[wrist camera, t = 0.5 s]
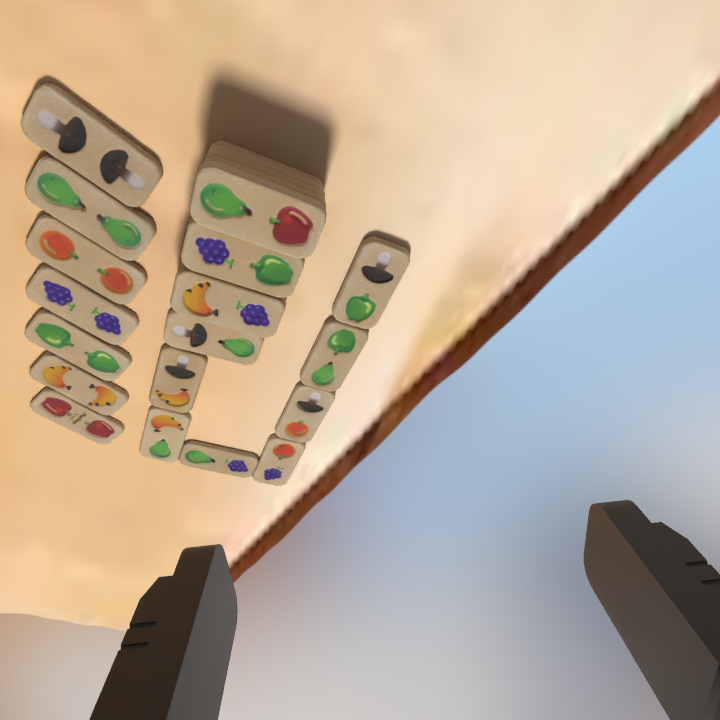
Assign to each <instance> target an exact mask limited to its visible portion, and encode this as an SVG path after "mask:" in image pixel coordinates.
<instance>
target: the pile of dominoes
mask: <svg viewBox="0 0 720 720" xmlns="http://www.w3.org/2000/svg"><path fill="white" fill-rule="evenodd" d="M21 127H22V130H23V132H24V134H25V135H26V136H27V137H28V138H29V139H30V140H31V141H32V142H34V143H35V144H37V145H38V146H39V147H41V148H42V149H44V150H45V151H47V152H48V153H50V154H47V155H44V156H43V157H42V158H40V159H39V161H38V162H37V164H36V166H35V168H34V169H33V171H32V173H31V175H30V177H29V179H28V181H27V183H26V185H25V194H26V196H27V197H28V199H29V200H30V201H31V202H32V203H33V204H34V205H36V206H37V207H39V208H41V209H42V210H44V211H46V212H47V213H45V214H42V215H41V216H40V217H39V219H38V220H37V222H36V223H35V225H34V227H33V229H32V231H31V232H30V234H29V236H28V238H27V240H26V242H25V244H26V247H27V249H28V251H29V252H30V253H31V254H32V255H33V256H35V257H36V258H38V259H40V260H41V261H43V262H45V263H47V264H44V265H42V266H41V267H40V268H39V269H38V271H37V272H36V274H35V275H34V276H33V278H32V279H31V281H30V282H29V283H28V285H27V286H26V294H27V296H28V298H30V299H31V300H32V301H33V302H35V303H37V304H39V305H41V306H42V307H44V308H46V309H42V310H40V311H39V312H38V313H37V314H36V316H35V317H34V318H33V320H32V321H31V322H30V324H29V325H28V326H27V328H26V329H25V336H26V337H27V339H28V340H29V341H31V342H32V343H34V344H36V345H38V346H40V347H42V348H44V349H46V350H48V351H49V352H46V353H44V354H43V355H42V356H41V357H40V358H39V359H38V360H37V362H36V363H35V364H34V365H33V366H32V367H31V368H30V371H29V374H30V376H31V377H32V378H33V379H34V380H36V381H38V382H40V383H42V384H44V385H46V386H48V388H45V389H43V390H42V391H41V392H40V393H39V394H38V395H37V396H36V397H35V398H34V399H33V400H32V401H31V403H30V407H31V409H32V410H33V411H34V412H35V413H37V414H39V415H41V416H43V417H45V418H47V419H49V420H51V421H53V422H55V423H57V424H59V425H61V426H63V427H65V428H67V429H69V430H72V431H74V432H76V433H78V434H80V435H82V436H84V437H86V438H88V439H90V440H92V441H94V442H96V443H98V444H109V443H110V442H111V441H113V440H114V439H115V438H116V437H118V436H119V435H120V434H121V433H122V432H123V431H124V425H123V424H122V423H121V422H120V421H118V420H116V419H114V418H112V417H110V416H108V415H111V414H114V413H115V412H116V411H117V410H118V409H119V408H121V407H122V406H123V405H124V404H125V403H126V402H127V401H128V399H129V394H128V393H127V391H125V390H124V389H122V388H120V387H118V386H117V385H115V384H113V383H111V382H110V381H113V380H115V379H117V378H118V377H119V376H120V375H121V374H122V373H123V372H124V371H125V370H126V369H127V368H128V367H129V365H130V364H131V362H132V357H131V356H130V354H129V353H127V352H126V351H124V350H123V349H121V348H119V347H117V346H116V345H119V344H122V343H123V342H124V341H125V340H126V339H127V338H128V337H129V336H130V335H131V333H132V332H133V331H134V330H135V329H136V327H137V326H138V324H139V318H138V316H137V315H136V314H135V313H134V312H132V311H131V310H129V309H127V308H126V307H124V306H123V305H121V304H128V303H130V302H132V300H133V299H134V298H135V296H136V295H137V294H138V293H139V291H140V290H141V289H142V287H143V286H144V285H145V283H146V281H147V279H148V276H147V273H146V271H145V270H144V269H143V268H142V267H140V266H139V265H137V264H136V263H134V262H132V261H133V260H136V259H138V258H139V256H140V255H141V254H142V252H143V251H144V250H145V248H146V247H147V246H148V244H149V243H150V242H151V240H152V239H153V237H154V236H155V234H156V231H157V228H156V225H155V223H154V222H153V220H152V219H151V218H149V217H148V216H147V215H145V214H144V213H142V212H141V211H139V210H138V209H136V207H139V206H142V205H143V204H144V203H145V201H146V200H147V198H148V197H149V196H150V194H151V193H152V191H153V190H154V188H155V187H156V185H157V184H158V182H159V181H160V179H161V177H162V176H163V168H162V165H161V164H160V162H159V161H158V160H157V159H156V158H155V157H154V156H152V155H151V154H150V153H148V152H147V151H145V150H144V149H143V148H141V147H140V146H139V145H137V144H136V143H135V142H133V141H132V140H131V139H129V138H128V137H127V136H125V135H124V134H123V133H121V132H120V131H119V130H117V129H116V128H115V127H113V126H112V125H110V124H109V123H108V122H106V121H105V120H104V119H102V118H101V117H100V116H98V115H97V114H96V113H94V112H93V111H92V110H90V109H89V108H88V107H86V106H85V105H84V104H82V103H81V102H80V101H78V100H77V99H76V98H74V97H73V96H72V95H70V94H69V93H68V92H66V91H65V90H64V89H62V88H61V87H59V86H57V85H56V84H52V83H44V84H42V85H40V86H39V87H38V88H37V89H36V90H35V91H34V93H33V96H32V98H31V100H30V102H29V104H28V106H27V108H26V110H25V112H24V114H23V116H22V119H21ZM189 212H190V219H189V223H188V226H187V230H186V235H185V239H184V243H183V248H182V253H181V262H180V265H179V268H178V271H177V274H176V277H175V282H174V286H173V290H172V295H171V299H170V304H171V307H172V308H173V309H172V310H170V311H169V313H168V316H167V320H166V326H165V331H164V340H165V342H166V343H167V344H166V345H164V346H163V347H162V348H161V351H160V355H159V359H158V363H157V367H156V371H155V375H154V380H153V384H152V388H151V392H150V396H149V401H150V403H151V404H152V405H153V406H151V407H150V408H149V411H148V415H147V419H146V424H145V428H144V432H143V436H142V440H141V444H140V448H139V452H140V453H141V454H142V455H143V456H145V457H148V458H152V459H156V460H161V461H165V462H174V461H176V460H178V459H179V461H180V463H181V464H183V465H186V466H189V467H194V468H199V469H203V470H208V471H214V472H218V473H222V474H227V475H232V476H237V477H241V478H246V477H250V476H251V475H252V477H253V479H254V480H255V481H257V482H259V483H265V484H270V485H275V486H282V485H284V484H286V483H287V481H288V479H289V477H290V476H291V474H292V472H293V470H294V468H295V466H296V465H297V463H298V461H299V459H300V457H301V455H302V454H303V452H304V450H305V442H309V441H310V440H311V439H312V437H313V436H314V434H315V432H316V430H317V429H318V427H319V425H320V424H321V422H322V420H323V418H324V417H325V415H326V413H327V412H328V410H329V408H330V406H331V405H332V403H333V401H334V399H335V392H334V391H336V390H337V389H339V388H340V386H341V385H342V383H343V381H344V380H345V378H346V376H347V374H348V373H349V371H350V369H351V367H352V366H353V364H354V362H355V361H356V359H357V357H358V355H359V354H360V352H361V350H362V349H363V347H364V345H365V343H366V342H367V340H368V330H367V329H369V328H372V327H374V326H375V325H376V324H377V323H378V321H379V319H380V317H381V315H382V313H383V311H384V310H385V308H386V306H387V304H388V302H389V300H390V298H391V296H392V294H393V293H394V291H395V289H396V287H397V285H398V283H399V282H400V280H401V278H402V276H403V274H404V272H405V271H406V269H407V267H408V265H409V262H410V255H409V251H408V250H407V248H406V247H404V246H401V245H398V244H396V243H393V242H390V241H388V240H385V239H382V238H379V237H376V236H370V237H367V238H366V239H365V240H363V241H362V243H361V245H360V247H359V249H358V251H357V254H356V256H355V258H354V260H353V262H352V264H351V267H350V269H349V271H348V273H347V275H346V277H345V280H344V282H343V284H342V286H341V288H340V291H339V293H338V295H337V297H336V299H335V302H334V304H333V306H332V313H333V316H334V317H332V318H329V319H328V320H326V321H325V323H324V325H323V327H322V329H321V331H320V333H319V335H318V337H317V339H316V341H315V343H314V345H313V347H312V349H311V351H310V353H309V355H308V358H307V360H306V362H305V364H304V366H303V368H302V370H301V372H300V380H301V382H300V383H298V384H297V385H296V386H295V388H294V390H293V392H292V394H291V396H290V398H289V400H288V402H287V404H286V406H285V408H284V410H283V413H282V414H281V416H280V418H279V421H278V423H277V425H276V427H275V433H276V434H274V435H272V436H270V437H269V439H268V441H267V443H266V445H265V447H264V449H263V452H262V454H261V456H260V457H258V456H257V455H256V454H254V453H250V452H245V451H241V450H236V449H232V448H227V447H222V446H218V445H213V444H209V443H204V442H200V441H195V440H189V441H185V437H186V434H187V431H188V428H189V425H190V422H191V415H190V414H189V413H188V412H189V411H191V409H192V408H193V405H194V402H195V399H196V396H197V393H198V390H199V386H200V383H201V380H202V377H203V374H204V371H205V368H206V365H207V362H208V359H207V356H206V355H208V356H211V357H215V358H219V359H223V360H227V361H231V362H235V363H239V364H243V365H251V364H254V363H255V362H256V360H257V358H258V355H259V353H260V350H261V347H262V344H263V341H264V338H269V337H271V336H273V335H274V334H275V333H276V330H277V328H278V325H279V323H280V320H281V318H282V315H283V313H284V311H285V306H286V298H287V296H290V295H291V294H292V293H293V291H294V289H295V286H296V284H297V282H298V279H299V277H300V274H301V272H302V269H303V267H304V261H305V258H306V257H308V256H310V255H311V254H312V253H313V251H314V249H315V247H316V244H317V242H318V239H319V237H320V234H321V232H322V229H323V227H324V225H325V222H326V203H325V193H324V185H323V183H322V181H321V180H320V179H319V178H318V177H316V176H313V175H311V174H308V173H306V172H303V171H301V170H298V169H296V168H293V167H290V166H288V165H285V164H283V163H280V162H278V161H275V160H272V159H270V158H267V157H265V156H262V155H260V154H257V153H255V152H252V151H249V150H247V149H244V148H242V147H239V146H237V145H234V144H232V143H229V142H226V141H216V142H214V143H212V144H211V146H210V148H209V151H208V153H207V155H206V157H205V159H204V161H203V164H202V165H201V166H200V167H199V169H198V171H197V174H196V178H195V183H194V187H193V192H192V197H191V202H190V206H189Z"/></svg>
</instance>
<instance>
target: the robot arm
mask: <svg viewBox="0 0 720 720" xmlns="http://www.w3.org/2000/svg"><path fill="white" fill-rule="evenodd" d="M584 566H585V570H586V574H587V577H588V580H589V582H590V585H591V587H592V588H593V590H594V592H595V593H596V595H597V597H598V599H599V600H600V602H601V604H602V605H603V607H604V609H605V610H606V612H607V614H608V615H609V617H610V619H611V621H612V622H613V624H614V626H615V627H616V629H617V631H618V632H619V634H620V636H621V637H622V639H623V641H624V642H625V644H626V646H627V647H628V649H629V651H630V653H631V654H632V656H633V658H634V659H635V661H636V663H637V664H638V666H639V668H640V669H641V671H642V673H643V674H644V676H645V678H646V680H647V681H648V683H649V685H650V686H651V688H652V690H653V691H654V693H655V695H656V697H657V698H658V700H659V702H660V703H661V705H662V707H663V708H664V710H665V712H666V713H667V715H668V717H669V718H670V720H720V574H719V573H718V572H717V571H716V570H715V569H714V568H713V567H712V566H711V565H708V564H707V560H706V559H705V558H704V557H703V556H702V555H701V553H700V552H699V551H698V550H697V549H696V548H695V547H694V546H693V545H692V544H691V542H690V541H689V540H688V539H687V538H685V537H683V536H682V535H680V534H679V533H677V532H676V531H674V530H672V529H671V528H669V527H668V526H667V525H665V524H663V523H662V522H659V523H651V522H650V521H649V520H648V518H647V517H646V516H645V515H644V514H643V513H642V511H641V510H640V509H639V508H638V507H637V506H636V505H635V504H634V503H633V502H632V501H630V500H623V501H614V502H605V503H596V504H593V505H591V507H590V510H589V517H588V525H587V533H586V541H585V549H584ZM236 624H237V598H236V593H235V589H234V585H233V581H232V578H231V574H230V570H229V567H228V563H227V559H226V556H225V552H224V549H223V547H222V545H220V544H217V545H208V546H199V547H191V548H185V549H184V550H183V551H182V553H181V555H180V558H179V561H178V563H177V566H176V569H175V572H174V574H173V576H165V577H159V578H158V579H157V580H156V581H155V582H154V584H153V585H152V586H151V587H150V588H149V589H148V591H147V592H146V593H145V594H144V595H143V596H142V598H141V599H140V601H139V603H138V605H137V608H136V610H135V613H134V615H133V617H132V620H131V622H130V628H129V629H127V632H126V634H125V636H124V639H123V641H122V643H121V650H119V651H118V653H117V656H116V658H115V660H114V663H113V665H112V667H111V670H110V672H109V674H108V677H107V679H106V682H105V684H104V686H103V689H102V691H101V693H100V696H99V698H98V701H97V703H96V705H95V708H94V710H93V713H92V715H91V717H90V720H218V715H219V711H220V706H221V700H222V695H223V690H224V685H225V680H226V675H227V670H228V665H229V660H230V655H231V649H232V645H233V640H234V634H235V629H236Z"/></svg>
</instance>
